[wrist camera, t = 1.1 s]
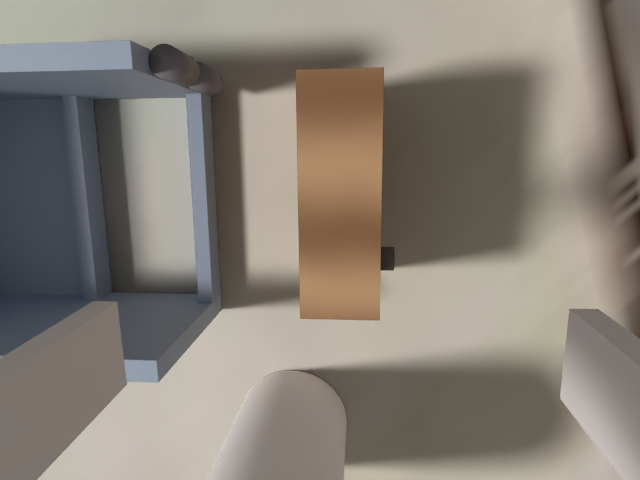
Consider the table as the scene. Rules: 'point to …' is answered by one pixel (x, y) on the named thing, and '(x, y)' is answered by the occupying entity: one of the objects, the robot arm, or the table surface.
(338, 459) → the cup
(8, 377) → the robot arm
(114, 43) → the cabinet
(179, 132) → the table surface
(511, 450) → the table surface
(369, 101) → the tan wooden block
